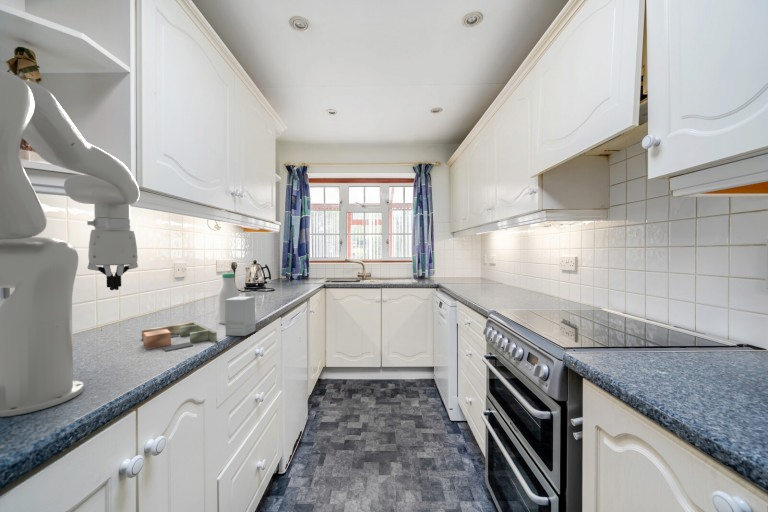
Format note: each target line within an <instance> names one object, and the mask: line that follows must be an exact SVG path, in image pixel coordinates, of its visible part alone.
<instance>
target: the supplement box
mask: <svg viewBox="0 0 768 512" xmlns="http://www.w3.org/2000/svg"><path fill="white" fill-rule="evenodd" d="M224 325H225V336H227V337H228V336H235V337H237V336H239V337H241V336H243V337H246V336H248V335H250V334H252V333H254V332H256V297H255V296H239V297H233V298H230V299H226V300H225V324H224Z"/></svg>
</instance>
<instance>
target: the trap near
mask: <svg viewBox="0 0 768 512" xmlns="http://www.w3.org/2000/svg"><path fill="white" fill-rule="evenodd" d="M191 347H194V345H193V344H192V343H190V341H188V342H182V343H178V344H173V345H172V344H171V345H166V346H161V349H162V350H163V351H164V352H166V353H167V352H171V351H176V350H177V351H178V350H181V349H185V348H191Z"/></svg>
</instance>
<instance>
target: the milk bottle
mask: <svg viewBox="0 0 768 512" xmlns="http://www.w3.org/2000/svg"><path fill="white" fill-rule="evenodd" d="M221 276H222V278H221V279H222V284H221V286H220V288H219V290H218V295H217V313H218V314H217V318H218V319H217V321H218V322H217V323H219V324H223V325H225V300H226V299H230V298H233V297H240V292H239V289H238V286H237V285H236V282H235V279H236V275H235V273H233V272H232V273H229V272H227V273H223V274H221Z"/></svg>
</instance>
